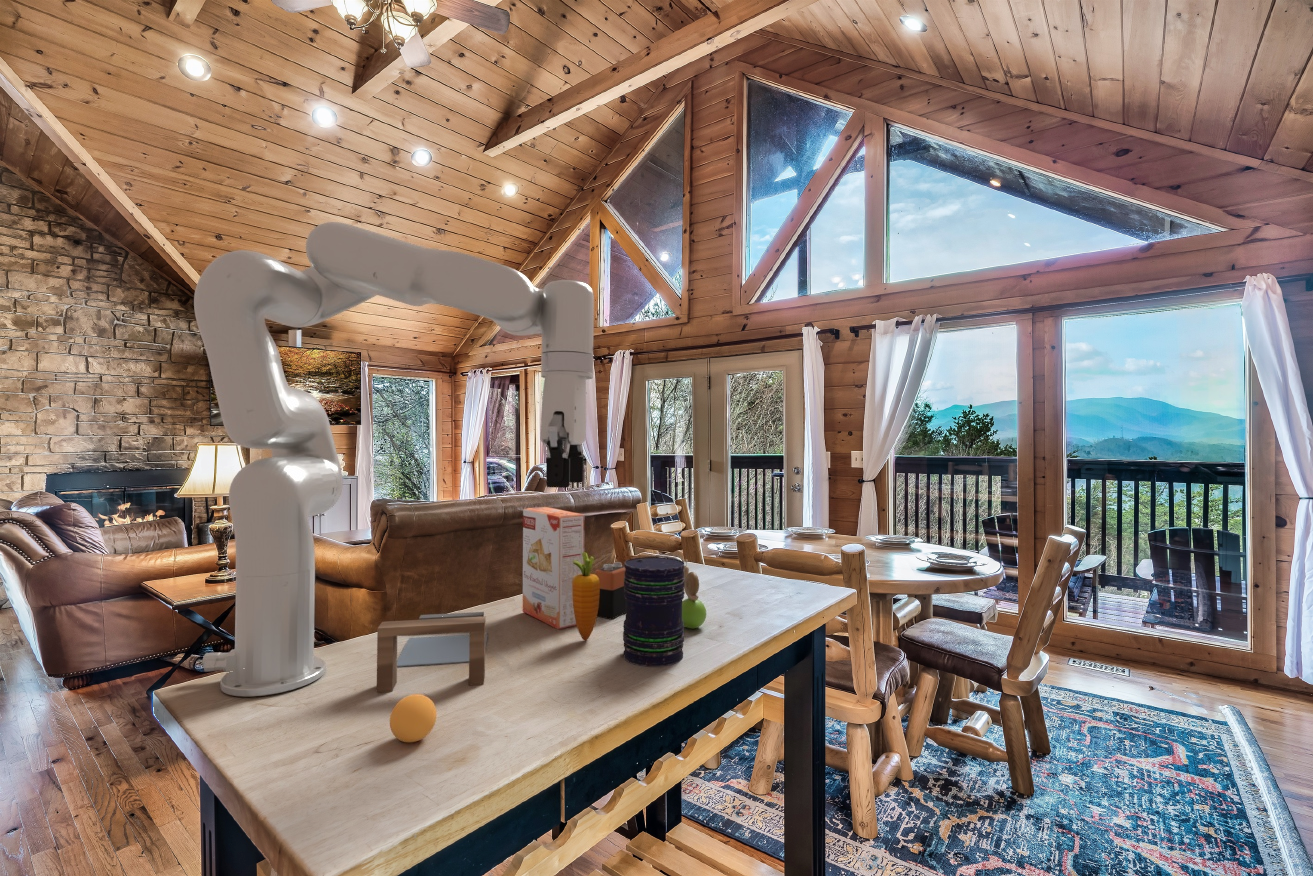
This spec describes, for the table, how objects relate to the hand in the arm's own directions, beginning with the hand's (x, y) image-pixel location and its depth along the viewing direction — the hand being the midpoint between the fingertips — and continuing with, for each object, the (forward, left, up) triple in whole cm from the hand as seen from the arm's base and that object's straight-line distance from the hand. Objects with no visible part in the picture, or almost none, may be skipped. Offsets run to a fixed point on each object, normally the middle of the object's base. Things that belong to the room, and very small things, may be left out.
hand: (565, 484), depth 88 cm
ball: (-18, -15, -26) cm, 35 cm away
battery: (+12, +30, -28) cm, 43 cm away
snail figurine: (+25, +19, -28) cm, 42 cm away
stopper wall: (-18, +26, -28) cm, 42 cm away
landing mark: (-18, +15, -28) cm, 37 cm away
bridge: (-18, +1, -28) cm, 33 cm away
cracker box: (0, +29, -28) cm, 40 cm away
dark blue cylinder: (+15, +6, -28) cm, 32 cm away
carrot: (+5, +15, -28) cm, 32 cm away
